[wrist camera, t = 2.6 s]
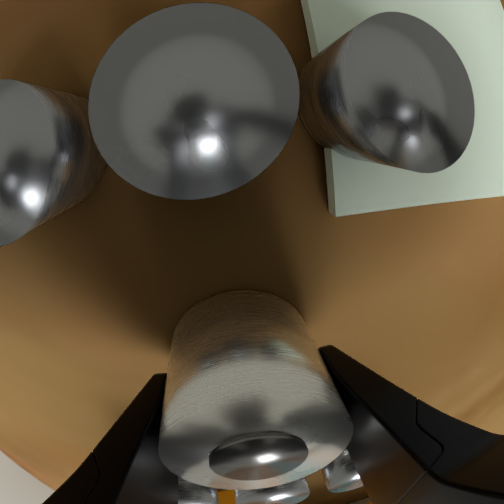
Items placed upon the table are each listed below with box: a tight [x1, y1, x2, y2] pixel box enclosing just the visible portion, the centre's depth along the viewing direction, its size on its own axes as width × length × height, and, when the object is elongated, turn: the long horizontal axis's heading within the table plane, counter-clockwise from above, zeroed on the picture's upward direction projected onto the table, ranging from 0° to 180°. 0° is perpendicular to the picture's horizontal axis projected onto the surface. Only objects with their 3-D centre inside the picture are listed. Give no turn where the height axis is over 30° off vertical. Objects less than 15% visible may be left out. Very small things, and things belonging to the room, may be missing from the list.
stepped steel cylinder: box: [158, 290, 353, 490], centre depth 7 cm, size 4×4×4 cm
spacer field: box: [0, 3, 475, 504], centre depth 8 cm, size 11×17×3 cm, turn 7°
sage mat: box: [301, 0, 504, 217], centre depth 6 cm, size 10×10×1 cm
